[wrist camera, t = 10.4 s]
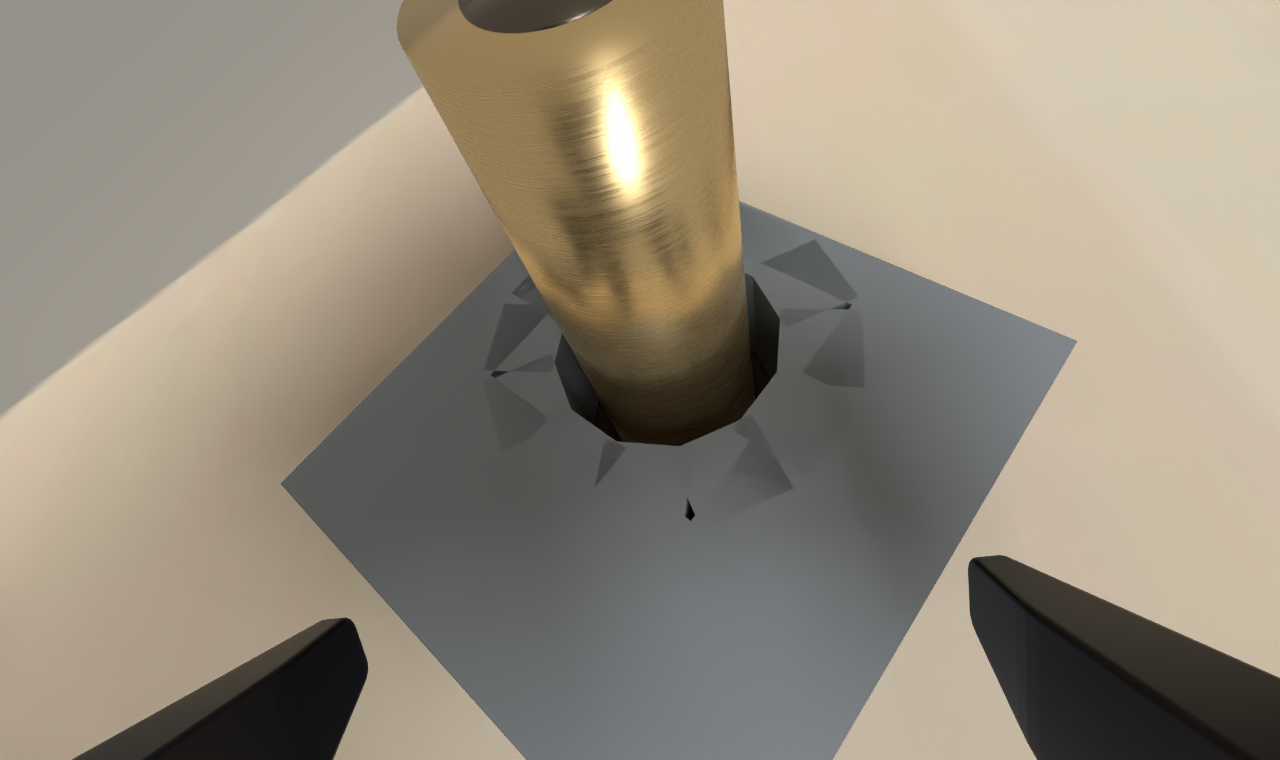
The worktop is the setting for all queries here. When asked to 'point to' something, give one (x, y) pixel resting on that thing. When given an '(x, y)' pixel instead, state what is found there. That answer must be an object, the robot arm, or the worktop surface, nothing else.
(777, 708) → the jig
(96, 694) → the worktop surface
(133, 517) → the worktop surface
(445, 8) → the bushing
